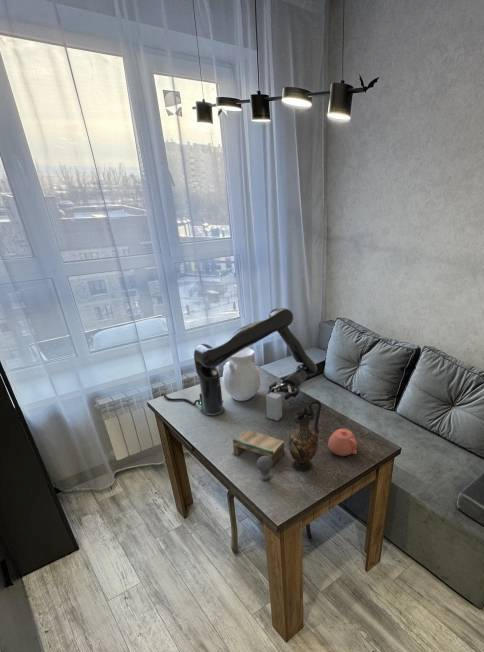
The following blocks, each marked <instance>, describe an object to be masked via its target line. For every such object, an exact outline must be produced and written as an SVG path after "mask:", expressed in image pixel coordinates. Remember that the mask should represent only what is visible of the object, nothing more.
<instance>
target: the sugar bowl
mask: <svg viewBox="0 0 484 652" xmlns="http://www.w3.org/2000/svg"><path fill="white" fill-rule="evenodd" d="M327 447H328V449H329V451H331V453H333V454H334V455H336V456H339V457H346V456H350V455H352V454H353V455H357V454H358V450H357V448H358V441H357V439H356V437H355V435H354V433H353V432H352V431H351V430H349V429H348V428H338V429H336V430H335V431H334V432H332V434H331V435H330V436H329V438H328V442H327Z"/></svg>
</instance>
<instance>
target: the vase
mask: <svg viewBox="0 0 484 652" xmlns="http://www.w3.org/2000/svg"><path fill="white" fill-rule="evenodd" d="M313 405H317V408H316V411H315V413H314V410H313ZM321 412H322V402H320V400H318V399H311V400H310V401H308V403H307V407H303V408H302V410H300V411H299V412H297V413H296V414H295V415H294V417H293V421H294V423H295V424H299V426H298V428H295V429H293V430H292V431H290V433H289V434H288V438H287V445H288V450H289V453H290V456H291V458H292V459H293V460H294V463H293V468H294V469H295V470H297V471H299V472H304V471H308V470H310V469H311V467H312V463H311V461H312V459H314V457H315V456H316V454H317V451H318V447H319V436H318V435H319V434H320V430H319V420H320V415H321ZM313 420H314V426H313V429H312V428H310V427H309V426H310V425H309V424H310V423H311V421H313Z"/></svg>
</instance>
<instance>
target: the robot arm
mask: <svg viewBox="0 0 484 652" xmlns="http://www.w3.org/2000/svg"><path fill="white" fill-rule="evenodd" d="M268 315H269V316H268V317H267V318H265V319H262V320H258V321H254V322H251V323H248V324H246V325H244V326H242V327H240V328H238V329H236V330H235V331H234V332H233V333H232V334H231V336H230V337H229V338H228V340H227V341H226V342H224V343H222V344H220V345H218V346H216V347H215V346H214V347H213V346H212V345H210V344H208V343H201V344H199V345H197V346H196V348H195V349H194V352H193V360H194V361H193V362H194V366H195V371H196V374H197V376H198V381H199V389H200V392H199V399H196V400H194V402H192V401H191V400H189V399H187V398H170V397H168V396H167V394H165V393H162V394H160V396H161V397H164V398H165V399H166V400H168V401H185V402H187V403H189V404H190V405H191V406H196V405H197V404H198V406H200V409H201V412H203V414H205V415H206V416H217V415H220V414H222V413H223V412H224V400H223V393H222V384H221V374H220V372H219V370H218V368H217V367H219V366H220V365H221V364H223V363H224V362H226V361H227V360H228V358H230V357H231V356H233V355H234V354H236V353H238V352H240V351H242V350H243V349H245V348H247V347H248V348H250V347H251V346H253V345H255V344H256V343H258V342H259V341H260V342H261V340H263V339H265V338H266V337H269V336H270V335H271V334H273V333H275V332H277V333H278V334H279V336H280V337H281V339H282V341H283V342H284V343H285V345H286V347H287V348H288V350H289V352H290V354H291V357H292V358H293V361H295V362H296V363H298V365H297V366H296V368H295V370H294V371H293V372H292V373H290V374H289V375H288V376H286V377H285V378H284V379H283V381H282V382H281V383H278V381H274V382H273V383H271V384H270V385H269V386H268V391H267V393H268V394H269V393H270V392H272V393H276V394H278V393H285V395H284V401H287V400H289V399H290V398H296V397H297V396H298V395H299V394H300V389H301V388H300V386H301V385H302V384H303V383H304V382H305V381H306V380H307V378H308V377H310V376H314V375H315V374H317V371H318V368H317V365H316V363H315V361H314V360H313V359H312V358H311V356H309V355H308V353H307V352H306V350H305V348H304V345H303V344H302V343H301V341H300V340H299V339H298V338H297V337H296V336H295V334H294V333H293V332H292V331H291V329H290V327H289V326H290V325H291V324H292V323H293V322H294V313H293V312H292V311H291V310H290V309H288V308H284V307H277V308H273V309H272V310H270V312H269V314H268ZM268 394H267V395H268Z"/></svg>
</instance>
